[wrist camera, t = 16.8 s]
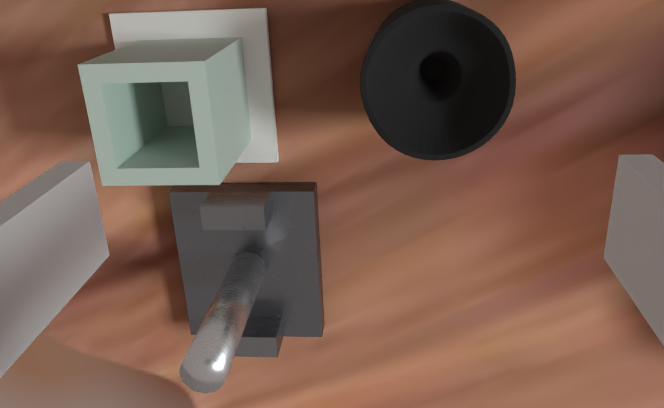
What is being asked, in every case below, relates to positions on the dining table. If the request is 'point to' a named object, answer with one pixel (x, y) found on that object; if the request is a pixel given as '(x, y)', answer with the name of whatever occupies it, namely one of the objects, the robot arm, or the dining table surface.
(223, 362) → the block with threaded rod
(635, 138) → the dining table surface
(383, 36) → the pen holder
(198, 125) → the sleeve
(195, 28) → the mat
